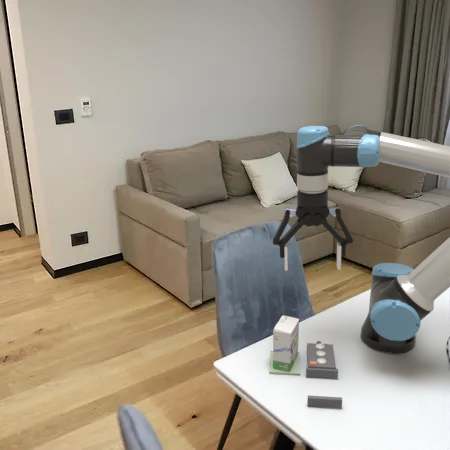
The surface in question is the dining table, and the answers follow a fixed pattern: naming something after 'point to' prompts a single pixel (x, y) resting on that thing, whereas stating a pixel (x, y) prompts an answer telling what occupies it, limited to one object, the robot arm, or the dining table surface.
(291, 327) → the ink box
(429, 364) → the dining table surface
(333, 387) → the dining table surface
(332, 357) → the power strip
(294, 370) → the felt pad
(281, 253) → the robot arm
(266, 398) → the dining table surface
